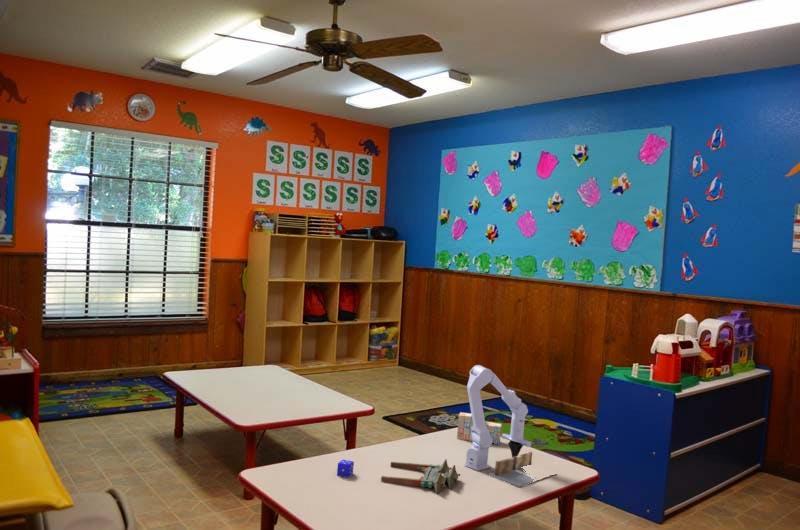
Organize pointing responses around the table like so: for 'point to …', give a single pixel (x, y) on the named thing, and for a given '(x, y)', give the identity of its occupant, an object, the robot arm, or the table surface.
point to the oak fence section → (523, 460)
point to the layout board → (515, 477)
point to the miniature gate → (426, 475)
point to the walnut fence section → (505, 466)
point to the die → (345, 468)
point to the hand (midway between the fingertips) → (514, 458)
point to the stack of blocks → (467, 422)
